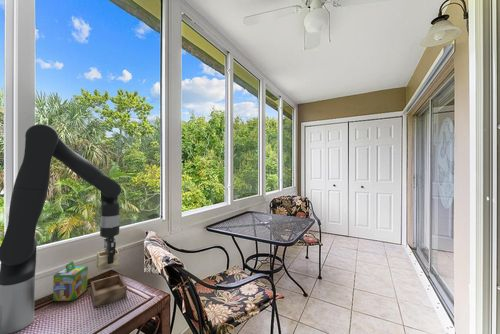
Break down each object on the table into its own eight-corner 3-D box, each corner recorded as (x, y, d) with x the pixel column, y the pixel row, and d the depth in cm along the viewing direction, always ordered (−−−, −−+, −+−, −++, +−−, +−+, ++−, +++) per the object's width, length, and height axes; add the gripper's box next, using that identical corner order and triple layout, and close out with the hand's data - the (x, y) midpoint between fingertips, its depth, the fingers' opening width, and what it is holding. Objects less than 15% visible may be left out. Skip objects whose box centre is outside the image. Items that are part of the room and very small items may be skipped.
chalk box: (74, 301, 95) (75, 267, 95) (51, 301, 94) (52, 267, 94) (88, 289, 104) (89, 258, 104) (67, 289, 104) (68, 258, 104)
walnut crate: (94, 307, 91) (94, 296, 91) (90, 292, 102) (90, 281, 102) (126, 297, 99) (126, 286, 99) (119, 283, 110) (120, 274, 110)
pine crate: (98, 270, 95) (98, 257, 95) (96, 265, 100) (97, 252, 100) (119, 265, 101) (119, 252, 101) (116, 261, 105) (117, 248, 105)
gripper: (98, 222, 103) (97, 257, 103) (102, 230, 92) (101, 269, 93) (116, 220, 108) (115, 253, 108) (122, 227, 97) (121, 264, 98)
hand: (109, 260), depth 100 cm, fingers closed on pine crate, 6 cm apart
